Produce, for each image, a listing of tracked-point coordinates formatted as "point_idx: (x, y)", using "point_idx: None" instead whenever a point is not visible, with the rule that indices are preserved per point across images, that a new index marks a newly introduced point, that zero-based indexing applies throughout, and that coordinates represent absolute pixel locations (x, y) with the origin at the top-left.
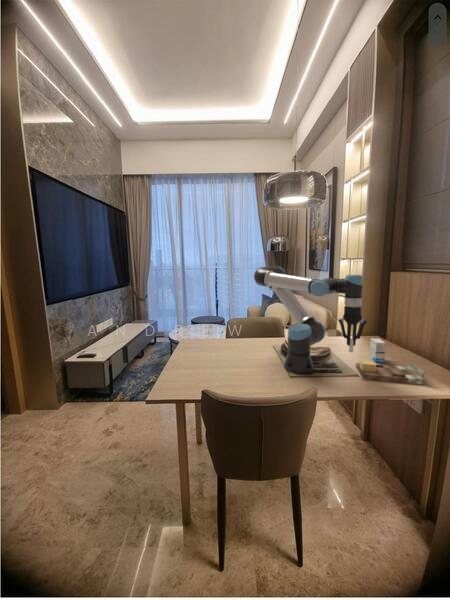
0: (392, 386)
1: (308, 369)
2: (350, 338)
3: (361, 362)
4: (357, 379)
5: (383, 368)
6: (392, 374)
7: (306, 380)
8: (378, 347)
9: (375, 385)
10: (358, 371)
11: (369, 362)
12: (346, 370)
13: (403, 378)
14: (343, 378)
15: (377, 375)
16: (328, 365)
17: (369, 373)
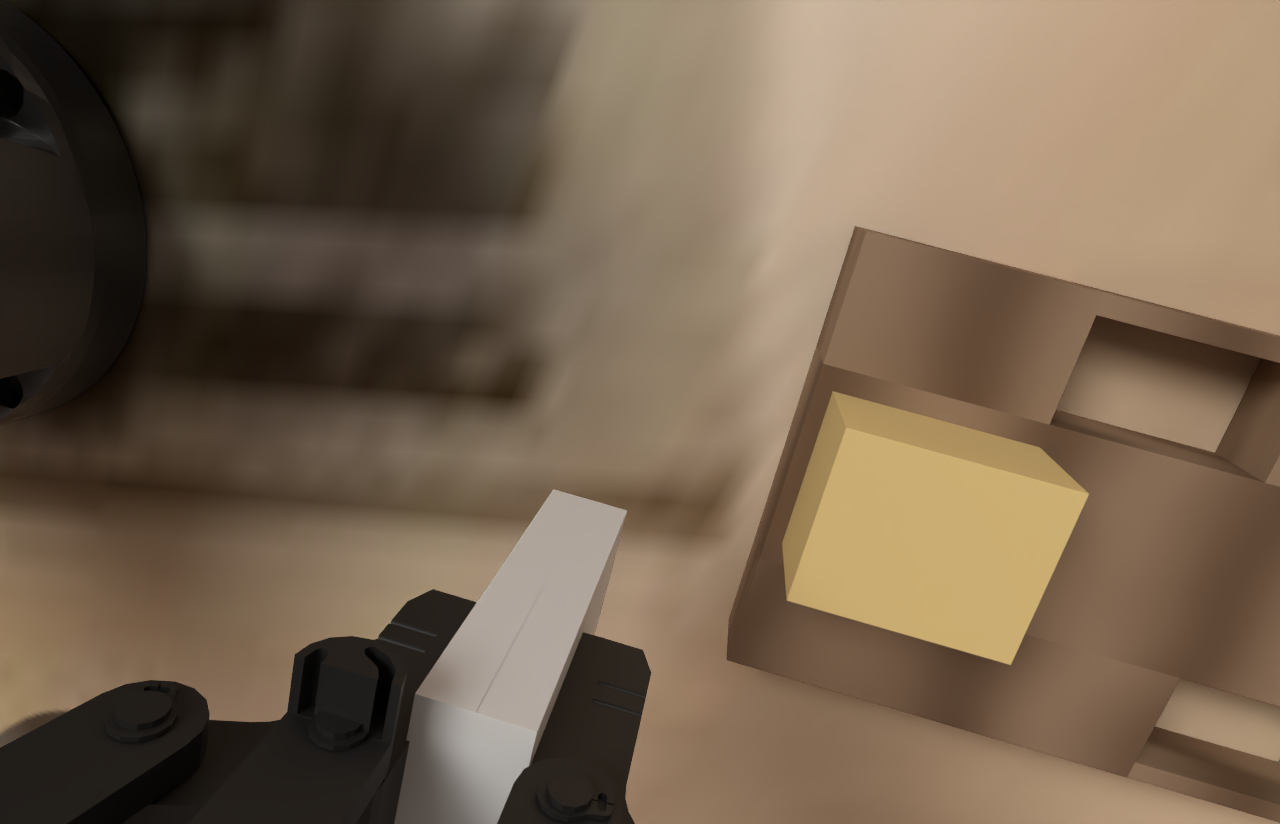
0: (981, 811)
1: (20, 415)
2: (466, 718)
3: (808, 535)
4: (649, 614)
5: (1212, 504)
6: (1195, 674)
7: (35, 576)
8: None
9: (786, 767)
10: (802, 390)
11: (964, 553)
12: (633, 339)
13: (1242, 805)
14: (481, 572)
15: (910, 710)
16: (417, 127)
17: (832, 644)
